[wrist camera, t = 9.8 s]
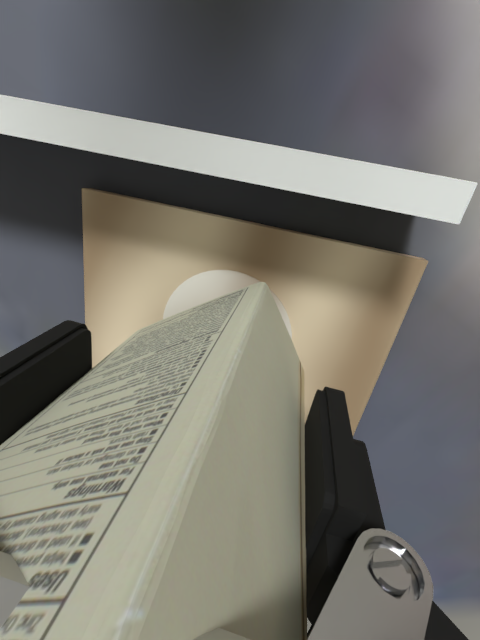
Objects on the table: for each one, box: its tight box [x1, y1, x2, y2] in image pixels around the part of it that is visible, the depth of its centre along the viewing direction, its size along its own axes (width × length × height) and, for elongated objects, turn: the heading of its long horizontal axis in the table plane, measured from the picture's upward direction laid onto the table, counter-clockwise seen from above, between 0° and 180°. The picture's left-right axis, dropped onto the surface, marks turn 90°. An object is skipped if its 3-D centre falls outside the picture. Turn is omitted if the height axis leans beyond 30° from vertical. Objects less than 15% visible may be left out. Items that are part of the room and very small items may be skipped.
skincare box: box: [0, 282, 307, 640], centre depth 8 cm, size 6×4×12 cm
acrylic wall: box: [0, 95, 478, 224], centre depth 11 cm, size 20×1×4 cm, turn 80°
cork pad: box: [82, 188, 428, 435], centre depth 15 cm, size 14×10×1 cm
